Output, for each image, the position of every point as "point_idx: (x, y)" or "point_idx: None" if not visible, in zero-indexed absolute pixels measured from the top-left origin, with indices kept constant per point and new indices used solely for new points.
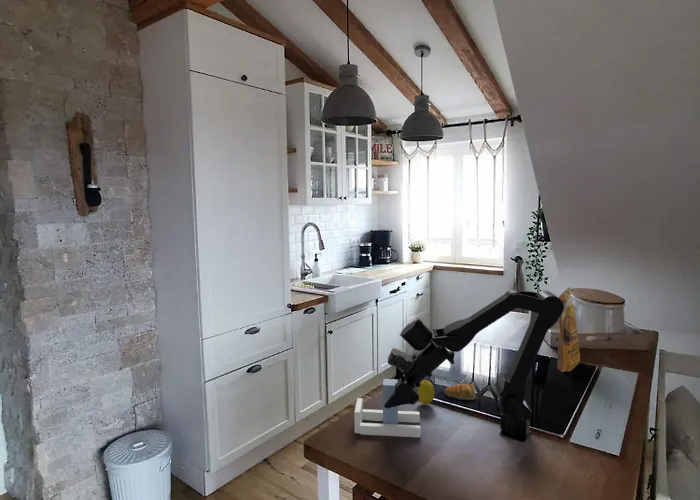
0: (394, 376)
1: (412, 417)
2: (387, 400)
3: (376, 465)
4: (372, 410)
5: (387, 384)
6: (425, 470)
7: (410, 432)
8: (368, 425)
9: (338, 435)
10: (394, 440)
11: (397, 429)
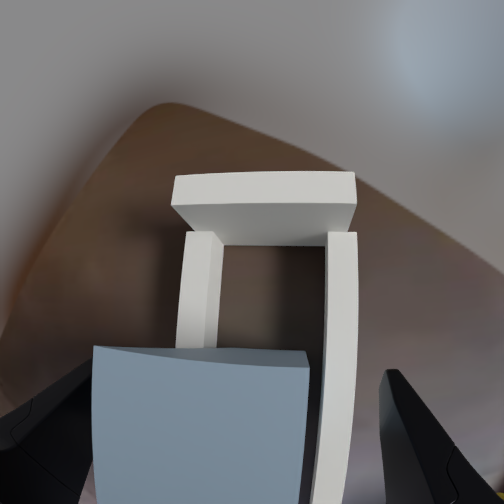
0: (456, 491)
1: (312, 492)
2: (79, 378)
3: (38, 309)
4: (348, 285)
5: (114, 412)
6: None
7: None
8: (185, 272)
9: (195, 166)
10: None
11: None
